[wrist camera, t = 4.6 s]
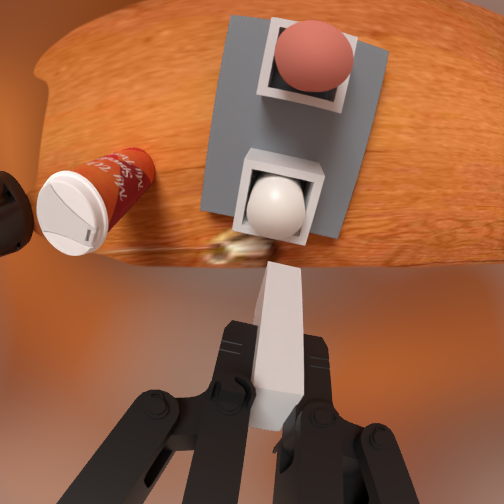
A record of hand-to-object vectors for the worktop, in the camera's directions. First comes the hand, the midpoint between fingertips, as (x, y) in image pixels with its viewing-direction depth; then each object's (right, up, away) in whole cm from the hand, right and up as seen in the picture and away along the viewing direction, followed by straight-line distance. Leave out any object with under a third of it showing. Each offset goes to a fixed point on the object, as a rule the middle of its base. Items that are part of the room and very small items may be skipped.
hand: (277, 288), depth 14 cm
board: (+3, +16, +17) cm, 23 cm away
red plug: (+3, +17, +7) cm, 19 cm away
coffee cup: (-16, +12, +21) cm, 29 cm away
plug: (+2, +9, +17) cm, 19 cm away
